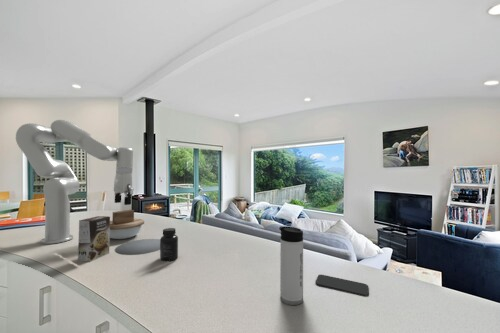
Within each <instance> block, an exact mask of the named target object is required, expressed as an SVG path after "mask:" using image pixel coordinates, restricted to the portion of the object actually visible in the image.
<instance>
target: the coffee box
mask: <svg viewBox="0 0 500 333" xmlns="http://www.w3.org/2000/svg"><path fill="white" fill-rule="evenodd" d="M110 221H111V216H108V215H107V216H106V215H105V216H104V215H103V216H101V215H100V216H99V215H97V216H92V217H89V218H84V219H80V220H79V221H78V248H77V251H78V252H77V260H78V261H83V262H92V261H96V260H98V259H99V258H103V257H105V256H106V255H109V254H110V242H111V241H110V239H111V238H110Z"/></svg>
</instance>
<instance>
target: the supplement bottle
mask: <svg viewBox="0 0 500 333" xmlns="http://www.w3.org/2000/svg"><path fill="white" fill-rule="evenodd" d="M178 257H179V236H178V235H177V234H176V228H175V227H167V228H164V229H162V236H161V237H160V250H159V260H160V261H162V262H168V263H172V262H174V261H176V260H178Z"/></svg>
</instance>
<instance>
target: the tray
mask: <svg viewBox="0 0 500 333" xmlns="http://www.w3.org/2000/svg"><path fill="white" fill-rule="evenodd" d="M160 239H161V238H160ZM160 239H159V238H144V239H142V238H141V239H136V240H131V241H128V242H124V243H121V244H120V245H117V247H115V249H114V252H115V253H117V254H118V255H124V256H138V255H146V254H151V253H155V252H159V251H160Z"/></svg>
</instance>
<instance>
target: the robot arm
mask: <svg viewBox="0 0 500 333" xmlns="http://www.w3.org/2000/svg"><path fill="white" fill-rule="evenodd" d="M64 141H65V142H69V143H70V144H73V145H75V146H76V147H78V148H79V149H80V150H81V151H83V152H85V153H86V154H87V155H90V156H92V157H93V158H96V159H98V160H101V161H107V162H116V164H115V165H116V167H115V176H114V183H113V192H114V203H116V204H119V203H122V194H124V200H123V201H124V202H123V204H124V205H125V206H127V205H128V206H130V205H131V204H132V197H133V193H134V188H133V164H134V149H133V148H130V147H113V146H111V145H105V144H103V143H102V142H100V141H98V140H96V139H94V138H93V137H92V136H91V133H90V132H87V131H86V130H83V129H82V128H80V127H79V126H78V124H76V123H73V122H71V121H68V120H65V119H56V120H54V121H53V122H52V123H51V124H50V127H49V126H45V125H41V124H37V123H25V124H22V125H20V126H19V127H18V128H17V130H16V133H15V142H16V145H18V147H19V149H20V150H21V152H22V153H23V154H24V156H25V157H26V159H27V161H28V162H29V164H30V166H31V167H32V169H33V170H34V172H35V173H36V175H37V176H39V178H40V177H41V178H45V179H46V178H47V179H48V180H46V182H44V185H43V189H42V191H43V195H44V202H45V203H44V204H45V206H44V207H45V211H44V212H45V213H44V214H45V216H44V220H45V223H44V238H42V239H41V240H40V243H41V244H43V245H52V244H54V245H55V244H59V243H64V242H68V241H70V240H73V239H74V235H73V234H70V231H71V230H70V229H71V228H70V224H71V223H70V222H71V220H70V219H71V202H70V198H69V195H74V194H75V193H77V192H78V191H79V190H80V181H79V179H78V178H77V176H76V175H75V173H74V171H73V170H72V168H71V167H70V166H69V164H68V163H66V162H65V161H63V160H60V159H55V158H53V157H52V155H51V154H50V153H49V151H48V150H47V148H45V146H43V145H42V144H41V143H44V144H45V143H46V144H53V143H59V142H64Z"/></svg>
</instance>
